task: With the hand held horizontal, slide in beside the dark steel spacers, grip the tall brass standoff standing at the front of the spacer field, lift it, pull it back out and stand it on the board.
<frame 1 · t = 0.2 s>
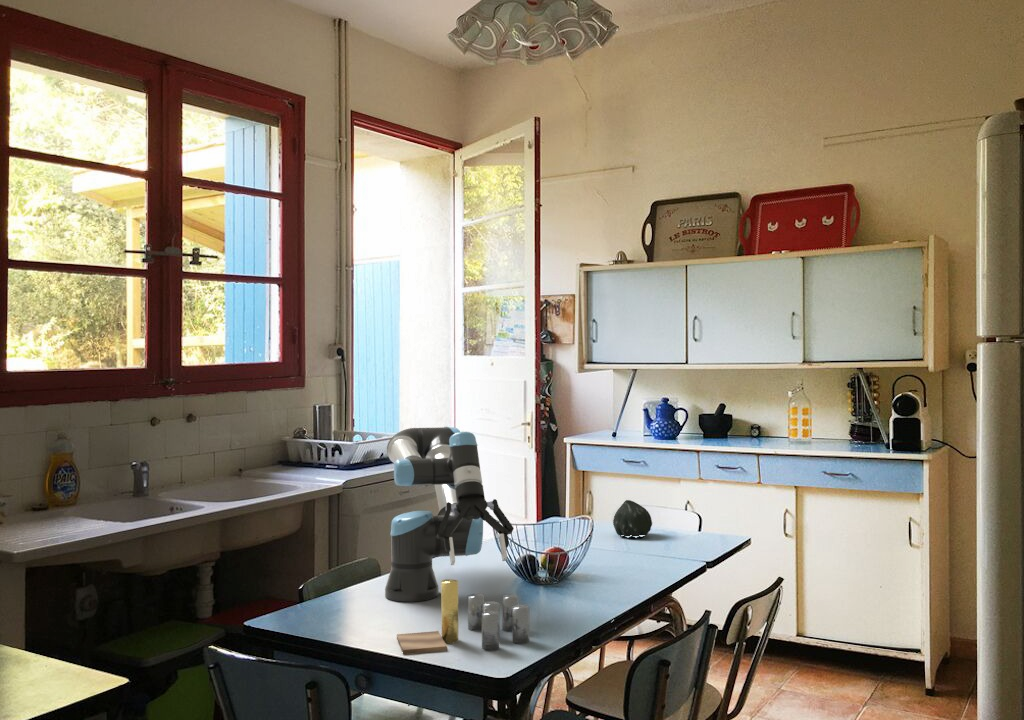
hand: (479, 561, 224), 15 cm above the table, fingers open, 13 cm apart
board: (421, 644, 204), on the table
spacers: (487, 637, 209), on the table
squash: (632, 537, 332), on the table
standoff: (450, 640, 206), on the table
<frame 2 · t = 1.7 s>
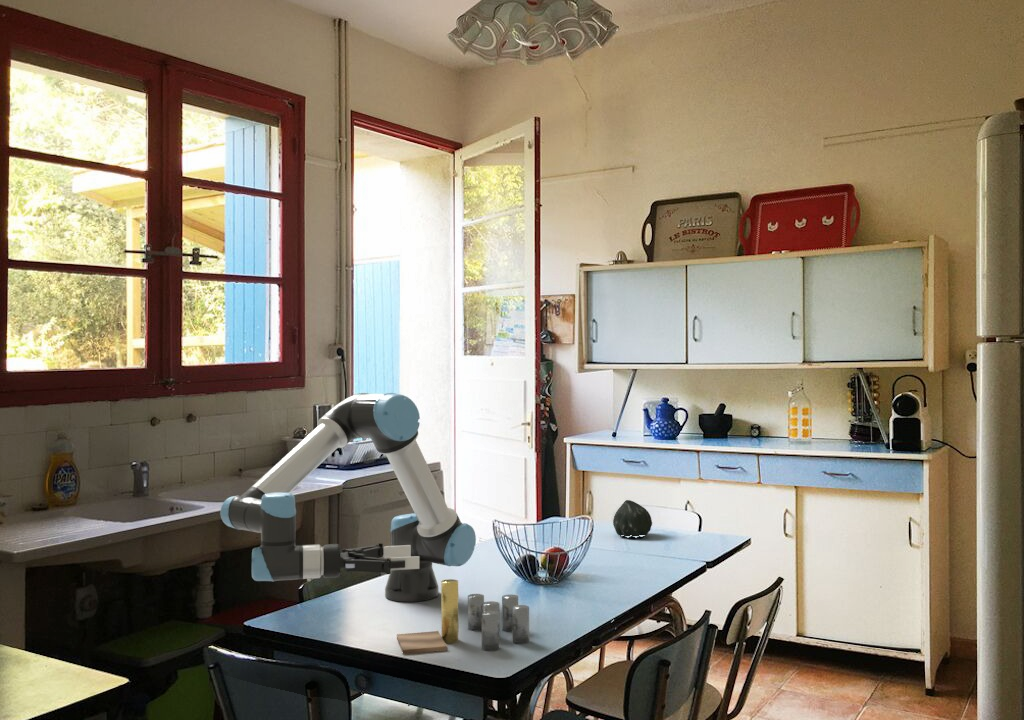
hand: (414, 556, 205), 20 cm above the table, fingers open, 13 cm apart
nothing on the table moved.
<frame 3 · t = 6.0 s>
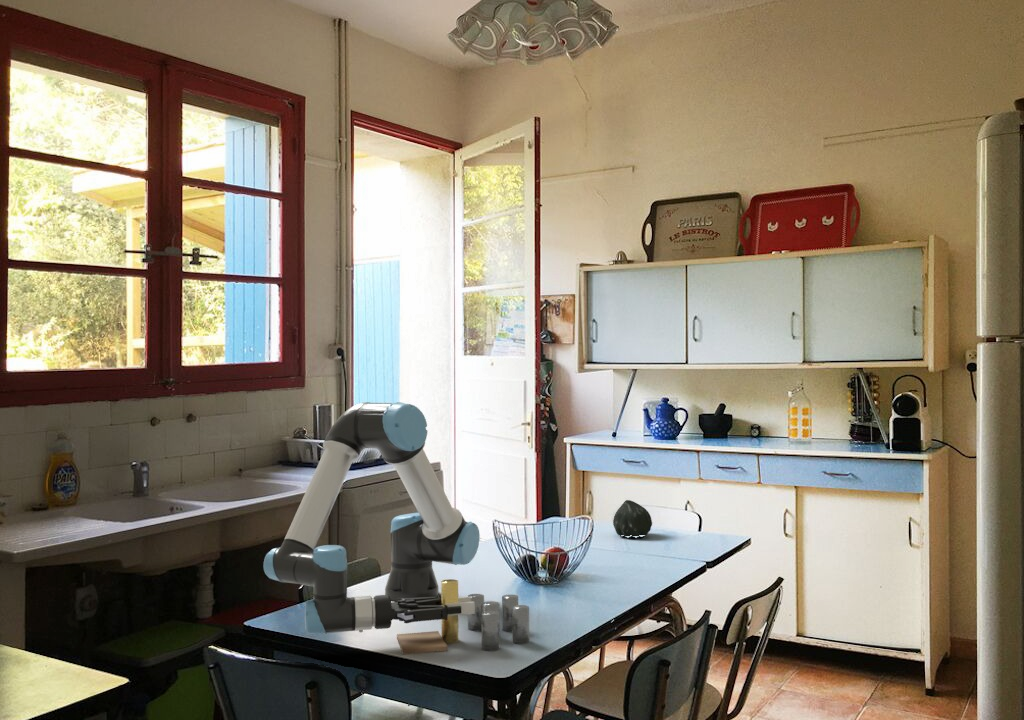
hand: (472, 605, 208), 8 cm above the table, fingers closed on standoff, 4 cm apart
standoff: (450, 640, 206), on the table, touching board, gripper
everything else where it was.
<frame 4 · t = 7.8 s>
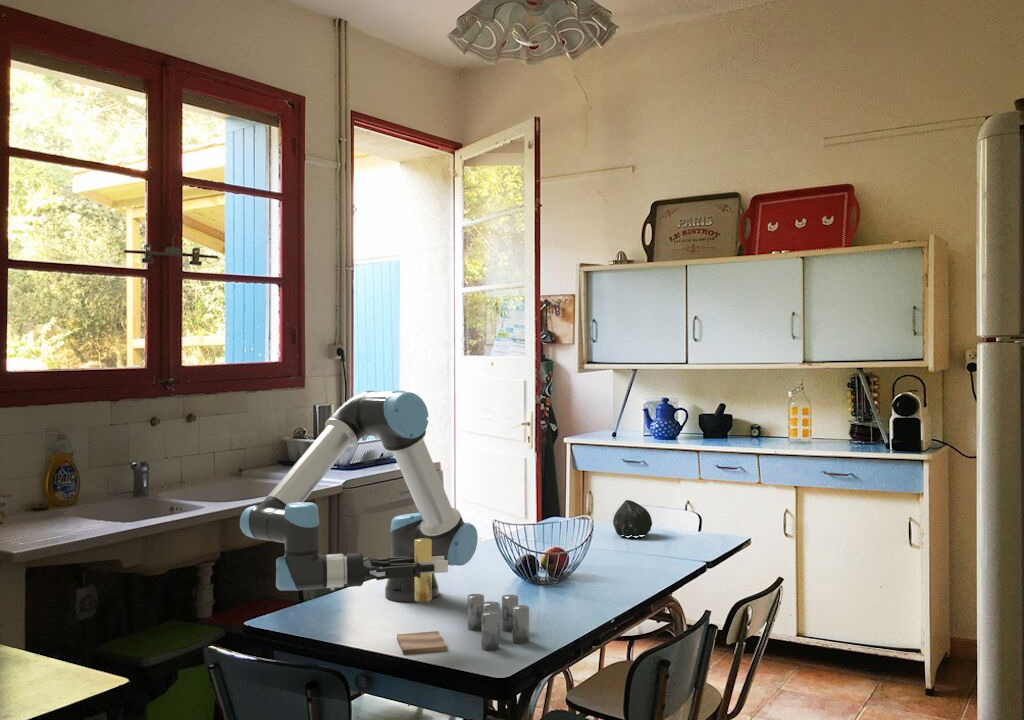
hand: (445, 564, 207), 18 cm above the table, fingers closed on standoff, 4 cm apart
standoff: (423, 599, 205), point 10 cm above the table, touching gripper
everything else where it was.
when the fingers open (9 cm above the table, at t = 9.7 s): standoff stays where it is, resting on board.
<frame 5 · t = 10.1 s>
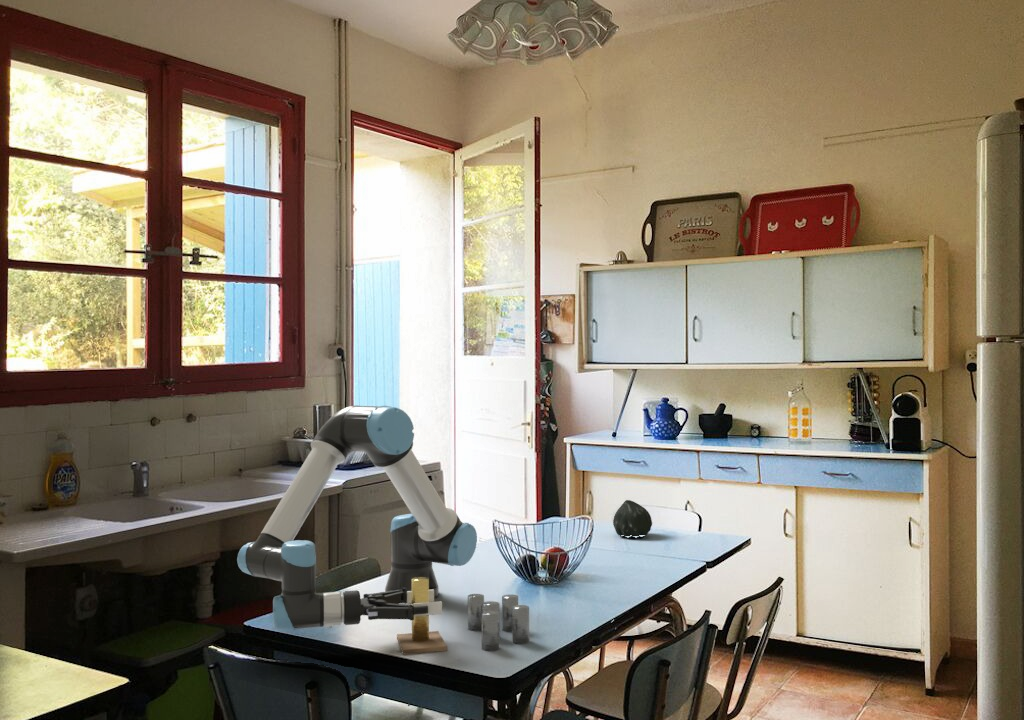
hand: (437, 601, 206), 10 cm above the table, fingers open, 10 cm apart
standoff: (420, 638, 205), point 1 cm above the table, touching board
everything else where it was.
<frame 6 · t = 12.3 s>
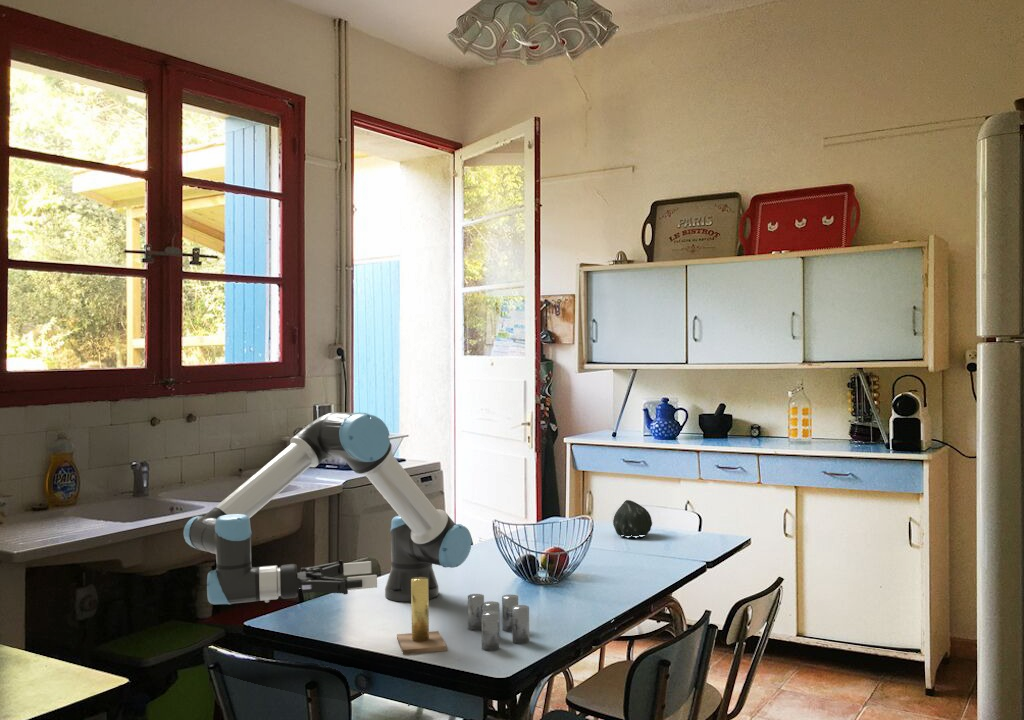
hand: (374, 573, 203), 17 cm above the table, fingers open, 13 cm apart
nothing on the table moved.
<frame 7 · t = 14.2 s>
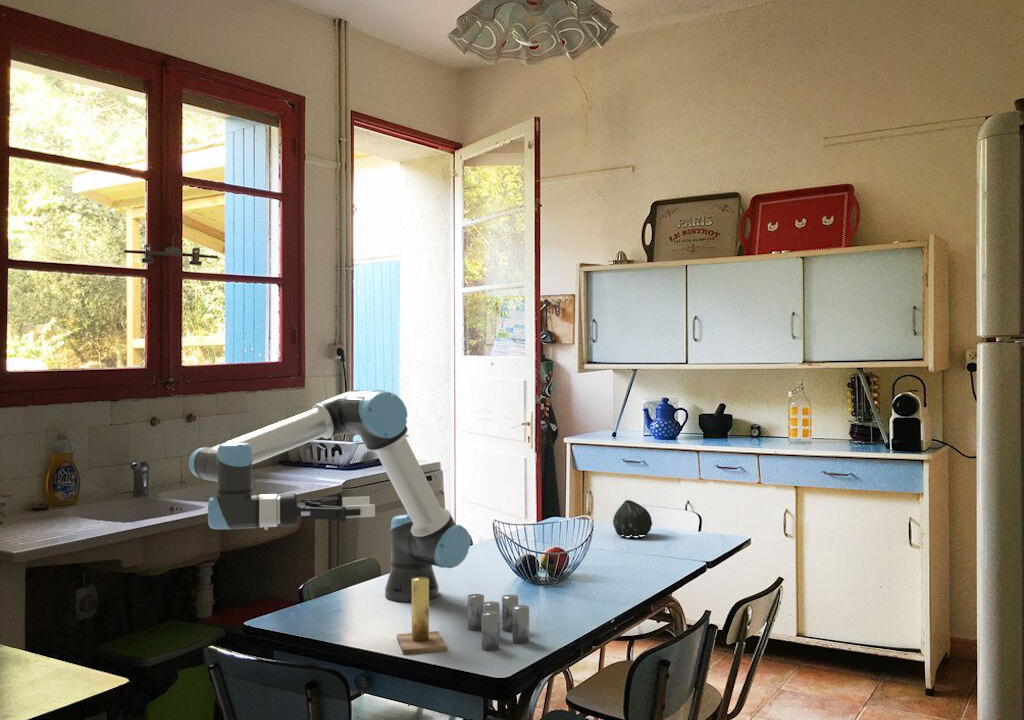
hand: (372, 506, 206), 32 cm above the table, fingers open, 13 cm apart
nothing on the table moved.
at the end: standoff inside the target area on the board (1.0 cm from its centre), point 1.0 cm above the board's base; standoff tilted 1°; the gripper is holding nothing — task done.
